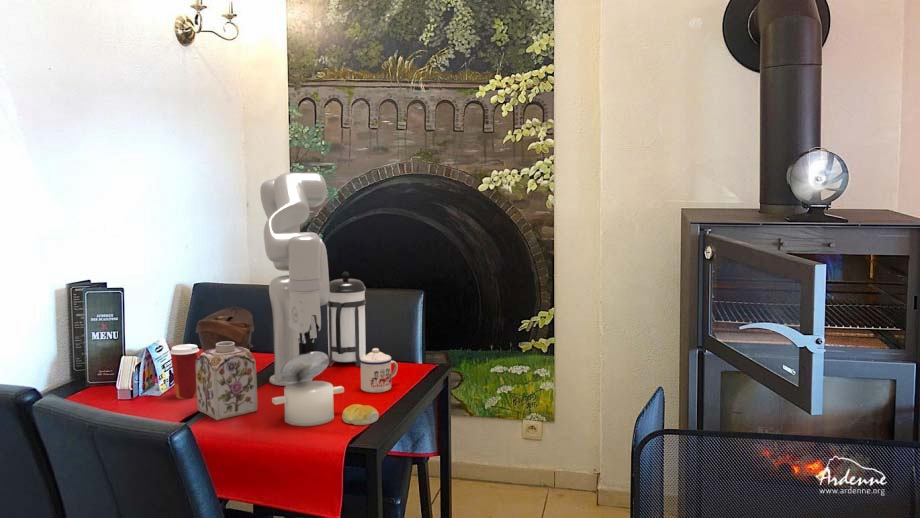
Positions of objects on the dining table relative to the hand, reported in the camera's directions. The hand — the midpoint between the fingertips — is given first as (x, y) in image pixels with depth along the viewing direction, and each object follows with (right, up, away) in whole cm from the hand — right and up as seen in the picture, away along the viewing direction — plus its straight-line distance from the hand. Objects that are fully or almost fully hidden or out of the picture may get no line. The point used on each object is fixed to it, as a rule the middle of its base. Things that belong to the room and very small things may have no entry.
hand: (306, 357), depth 189 cm
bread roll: (+14, -16, 0) cm, 21 cm away
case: (-37, -10, +54) cm, 66 cm away
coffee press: (+2, -10, +57) cm, 57 cm away
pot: (+1, -15, +1) cm, 15 cm away
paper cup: (-38, -14, +21) cm, 45 cm away
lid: (0, -3, +1) cm, 3 cm away
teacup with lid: (+16, -13, +28) cm, 35 cm away
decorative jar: (-22, -15, +7) cm, 28 cm away
